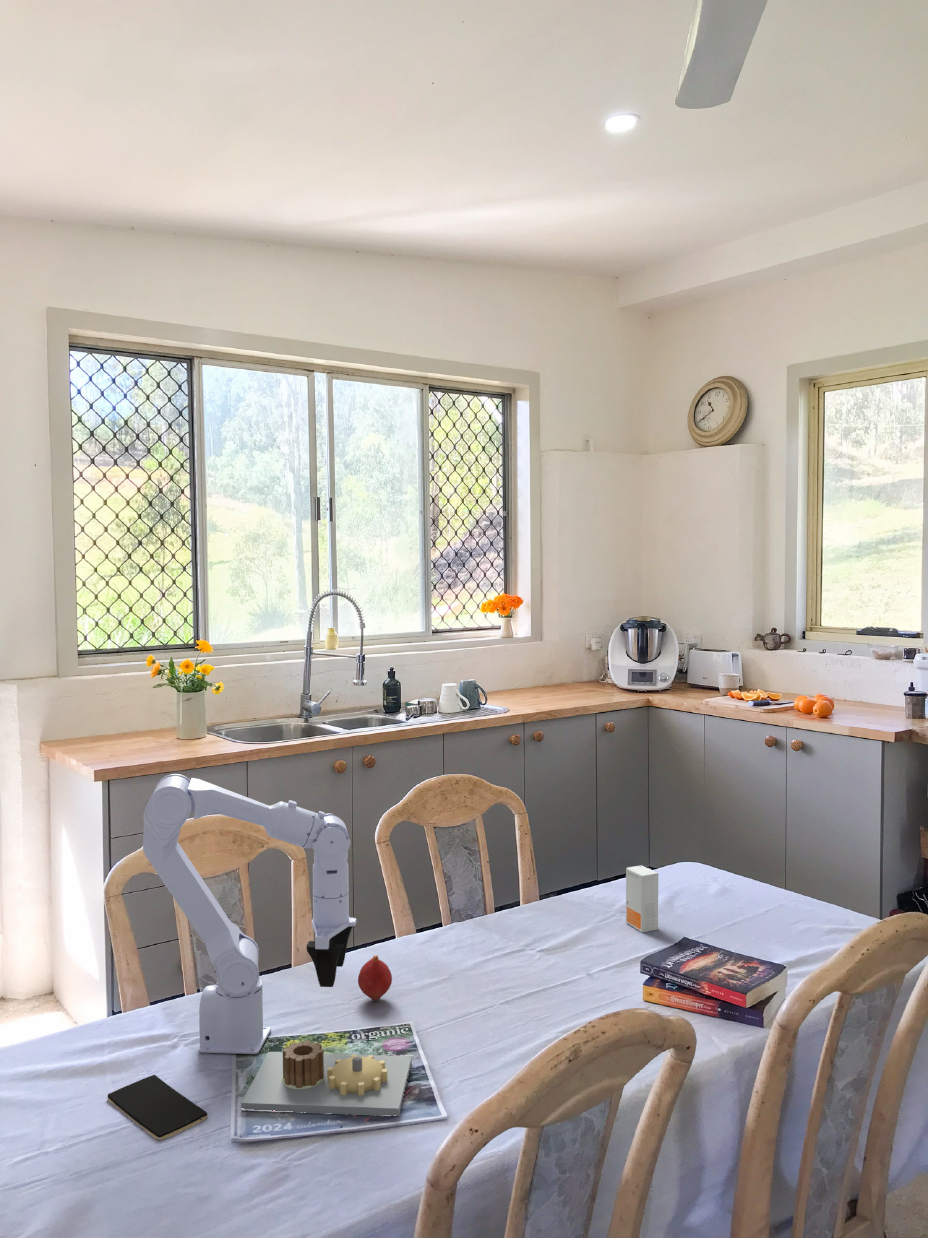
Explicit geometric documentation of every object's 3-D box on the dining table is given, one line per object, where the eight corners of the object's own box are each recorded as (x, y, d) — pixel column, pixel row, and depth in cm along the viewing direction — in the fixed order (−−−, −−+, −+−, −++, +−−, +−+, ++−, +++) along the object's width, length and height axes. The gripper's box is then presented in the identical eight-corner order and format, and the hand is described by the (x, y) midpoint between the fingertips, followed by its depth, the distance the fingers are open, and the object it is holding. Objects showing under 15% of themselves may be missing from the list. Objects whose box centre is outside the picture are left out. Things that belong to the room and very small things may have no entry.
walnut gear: (278, 1087, 137) (278, 1060, 137) (288, 1066, 143) (288, 1040, 143) (318, 1089, 137) (318, 1061, 136) (327, 1067, 142) (327, 1041, 142)
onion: (351, 1003, 166) (351, 958, 166) (370, 990, 171) (369, 946, 171) (380, 1010, 163) (379, 964, 163) (398, 997, 168) (397, 952, 168)
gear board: (241, 1111, 133) (240, 1082, 133) (268, 1059, 147) (268, 1032, 147) (398, 1117, 132) (398, 1087, 132) (411, 1064, 146) (411, 1037, 146)
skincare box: (624, 923, 202) (625, 867, 202) (641, 920, 204) (642, 864, 204) (641, 933, 197) (642, 876, 196) (659, 930, 199) (659, 873, 198)
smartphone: (153, 1073, 142) (209, 1113, 132) (154, 1081, 142) (209, 1121, 132) (105, 1093, 137) (159, 1136, 126) (106, 1101, 137) (159, 1145, 126)
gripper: (346, 909, 147) (347, 996, 148) (363, 878, 161) (364, 958, 162) (301, 908, 147) (302, 995, 148) (321, 877, 162) (322, 957, 163)
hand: (331, 975), depth 155 cm, fingers open, 7 cm apart
